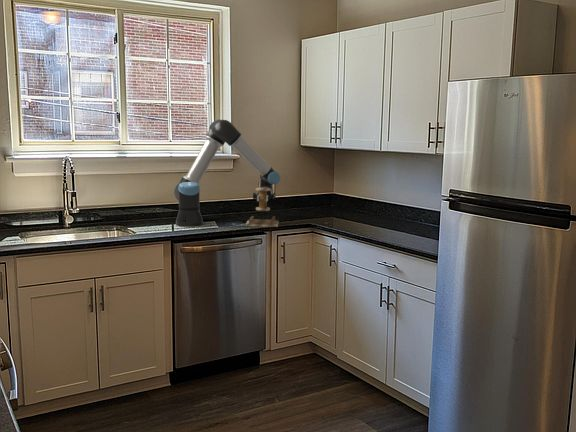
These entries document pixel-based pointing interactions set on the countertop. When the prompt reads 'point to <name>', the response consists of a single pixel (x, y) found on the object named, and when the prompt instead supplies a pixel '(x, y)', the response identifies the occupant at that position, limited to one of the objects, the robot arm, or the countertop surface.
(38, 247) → the countertop surface
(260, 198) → the bobbin
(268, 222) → the board
